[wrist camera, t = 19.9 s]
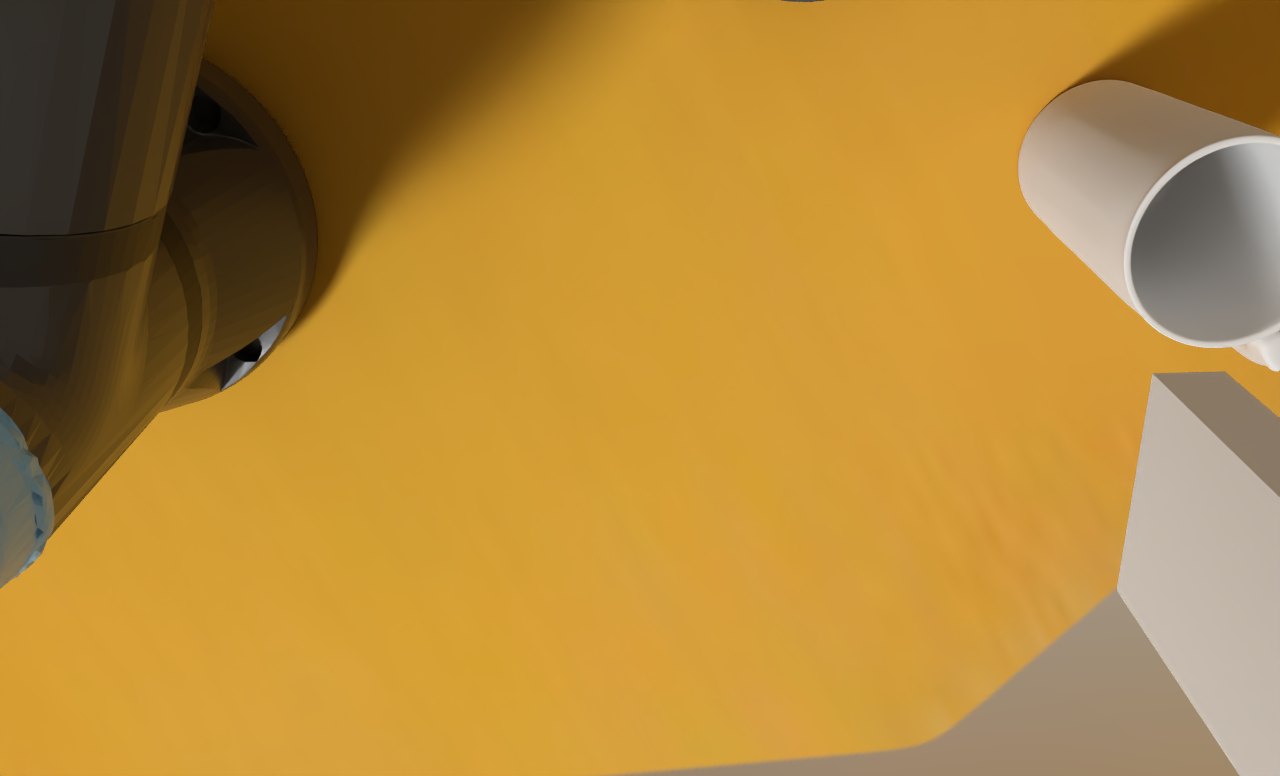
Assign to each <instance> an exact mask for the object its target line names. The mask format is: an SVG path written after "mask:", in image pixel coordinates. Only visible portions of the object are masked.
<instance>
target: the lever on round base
mask: <svg viewBox="0 0 1280 776" xmlns="http://www.w3.org/2000/svg"><path fill="white" fill-rule="evenodd" d="M783 1H794V2H813V1H822V0H783Z"/></svg>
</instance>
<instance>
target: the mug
mask: <svg viewBox="0 0 1280 776" xmlns="http://www.w3.org/2000/svg"><path fill="white" fill-rule="evenodd" d="M1018 176H1019V183H1020V187H1021V190H1022V193H1023V196H1024V198H1025V200H1026V202H1027V204H1028V205H1029V207H1030V208H1031V210H1032V211H1033V212H1034V213H1035V214H1036V215H1037V216H1038V217H1039V218H1040V219H1041V220H1042V221H1043V222H1044V223H1045V224H1046V226H1047V227H1048V228H1049V229H1050V230H1051V231H1052V232H1053V233H1054V234H1055V235H1056V236H1057V237H1058V238H1059V239H1060V240H1061V241H1062V242H1063V243H1064V244H1065V245H1066V246H1067V247H1068V248H1070V249H1071V250H1072V251H1073V252H1074V253H1075V254H1076V255H1077V256H1078V257H1079V258H1080V259H1081V260H1082V261H1083V262H1084V263H1085V264H1086V265H1087V266H1088V267H1089V268H1090V269H1091V270H1092V271H1093V272H1094V273H1095V274H1096V275H1097V276H1098V277H1099V278H1100V279H1101V280H1102V281H1104V282H1105V283H1106V284H1107V285H1108V286H1109V287H1110V288H1111V289H1112V290H1113V291H1114V292H1115V293H1116V294H1117V295H1118V296H1119V297H1120V298H1121V299H1122V300H1123V301H1124V302H1125V303H1126V304H1128V305H1129V306H1130V307H1131V308H1132V309H1134V310H1135V311H1136V312H1137V313H1139V314H1140V315H1141V316H1142V317H1143V318H1144V319H1145V320H1146V321H1147V322H1148V323H1149V324H1150V325H1151V326H1152V327H1153V328H1155V329H1156V330H1157V331H1159V332H1160V333H1162V334H1163V335H1165V336H1167V337H1169V338H1171V339H1173V340H1175V341H1178V342H1181V343H1184V344H1187V345H1192V346H1197V347H1205V348H1224V347H1233V348H1234V349H1235V350H1236V351H1238V352H1239V353H1240V354H1242V355H1243V356H1244V357H1246V358H1248V359H1249V360H1251V361H1253V362H1255V363H1257V364H1260V365H1266V366H1268V367H1269V368H1270V369H1271V370H1273V371H1280V137H1279V136H1277V135H1275V134H1272V133H1270V132H1267V131H1265V130H1262V129H1260V128H1257V127H1254V126H1251V125H1249V124H1246V123H1243V122H1240V121H1237V120H1235V119H1232V118H1229V117H1226V116H1223V115H1221V114H1218V113H1215V112H1212V111H1209V110H1206V109H1204V108H1201V107H1198V106H1195V105H1193V104H1190V103H1187V102H1184V101H1181V100H1179V99H1176V98H1173V97H1171V96H1168V95H1165V94H1163V93H1160V92H1157V91H1154V90H1151V89H1148V88H1145V87H1142V86H1139V85H1136V84H1133V83H1130V82H1126V81H1120V80H1098V81H1093V82H1088V83H1085V84H1082V85H1079V86H1076V87H1074V88H1072V89H1070V90H1068V91H1066V92H1064V93H1063V94H1061V95H1059V96H1058V97H1057V98H1055V99H1054V100H1053V101H1051V102H1050V103H1049V104H1048V105H1047V106H1046V107H1045V108H1044V109H1043V110H1042V111H1041V112H1040V113H1039V114H1038V116H1037V117H1036V118H1035V120H1034V121H1033V123H1032V124H1031V126H1030V128H1029V129H1028V131H1027V133H1026V135H1025V138H1024V140H1023V143H1022V146H1021V150H1020V154H1019V161H1018Z"/></svg>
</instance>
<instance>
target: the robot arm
mask: <svg viewBox="0 0 1280 776" xmlns="http://www.w3.org/2000/svg"><path fill="white" fill-rule="evenodd" d="M214 3H215V0H0V588H2V587H3V586H4V585H5V584H6V583H8V582H9V581H10V580H12V579H14V578H16V577H17V576H19V574H20V573H21V572H22V571H24V570H26V569H27V568H28V567H29V566H30V565H32V564H33V563H34V560H36V559H37V558H38V557H39V556H40V555H41V554H42V552H43V550H44V547H45V544H46V541H47V540H48V539H49V538H50V537H51V535H52V534H53V533H54V532H55V531H56V530H57V528H58V527H59V526H60V525H61V524H62V523H63V522H64V520H65V519H66V518H67V517H68V516H69V515H70V514H71V512H72V511H73V510H74V509H75V508H76V507H77V506H78V504H79V503H80V502H81V501H82V500H83V499H84V498H85V496H86V495H87V494H88V493H89V492H90V491H91V490H92V488H93V487H94V486H95V485H96V484H97V483H98V482H99V480H100V479H101V478H102V477H103V476H104V475H105V474H106V472H107V471H108V470H109V469H110V468H111V467H112V466H113V464H114V463H115V462H116V461H117V460H118V459H119V458H120V456H121V455H122V454H123V453H124V452H125V451H126V450H127V448H128V447H129V446H130V445H131V444H132V443H133V442H134V440H135V439H136V438H137V437H138V436H139V435H140V434H141V432H142V431H143V430H144V429H145V428H146V427H147V425H148V424H149V423H150V422H151V421H152V420H153V419H154V417H155V416H156V415H157V414H158V413H160V412H163V411H166V410H170V409H173V408H177V407H180V406H183V405H187V404H190V403H194V402H197V401H200V400H203V399H206V398H208V397H211V396H213V395H215V394H218V393H220V392H222V391H224V390H225V389H227V388H229V387H231V386H233V385H234V384H236V383H237V382H239V381H240V380H242V379H243V378H245V377H246V376H247V375H249V374H250V373H251V372H252V371H254V370H255V369H256V368H257V367H258V366H259V365H260V364H261V363H262V362H264V361H265V360H266V359H267V357H268V356H269V355H270V354H271V353H272V352H273V351H274V349H275V348H276V347H277V345H278V344H279V343H280V342H281V340H282V339H283V338H284V337H285V335H286V334H287V333H288V331H289V330H290V329H291V327H292V326H293V324H294V323H295V321H296V319H297V318H298V316H299V314H300V312H301V310H302V308H303V306H304V304H305V302H306V300H307V297H308V294H309V292H310V288H311V285H312V282H313V278H314V273H315V268H316V260H317V246H318V238H317V223H316V215H315V209H314V204H313V200H312V196H311V192H310V189H309V186H308V183H307V180H306V177H305V174H304V172H303V170H302V167H301V165H300V163H299V160H298V159H297V157H296V155H295V153H294V151H293V149H292V147H291V145H290V144H289V142H288V140H287V139H286V137H285V135H284V134H283V133H282V131H281V130H280V128H279V127H278V125H277V124H276V123H275V121H274V120H273V119H272V118H271V116H270V115H269V114H268V113H267V111H266V110H265V109H264V108H263V107H262V106H261V105H260V104H259V102H258V101H257V100H256V99H255V98H254V97H253V96H252V95H251V94H250V93H248V92H247V91H246V90H245V89H244V88H243V87H242V86H241V85H240V84H238V83H237V82H236V81H235V80H234V79H232V78H231V77H230V76H228V75H227V74H226V73H224V72H223V71H222V70H220V69H219V68H217V67H215V66H214V65H212V64H211V63H209V62H208V61H206V60H204V59H202V57H203V52H204V48H205V43H206V39H207V34H208V30H209V26H210V21H211V17H212V12H213V8H214ZM1117 592H1118V593H1119V595H1120V596H1121V598H1122V599H1123V601H1124V602H1125V604H1126V605H1127V607H1128V608H1129V610H1130V611H1131V613H1132V614H1133V616H1134V617H1135V619H1136V620H1137V622H1138V623H1139V625H1140V626H1141V628H1142V629H1143V631H1144V632H1145V634H1146V635H1147V637H1148V638H1149V640H1150V641H1151V643H1152V644H1153V646H1154V647H1155V649H1156V650H1157V652H1158V653H1159V655H1160V656H1161V658H1162V659H1163V661H1164V662H1165V664H1166V665H1167V667H1168V668H1169V670H1170V671H1171V673H1172V674H1173V676H1174V678H1175V679H1176V681H1177V682H1178V683H1179V685H1180V686H1181V688H1182V689H1183V691H1184V693H1185V694H1186V696H1187V697H1188V698H1189V700H1190V702H1191V703H1192V705H1193V706H1194V708H1195V709H1196V711H1197V712H1198V713H1199V715H1200V716H1201V718H1202V720H1203V721H1204V722H1205V724H1206V726H1207V727H1208V729H1209V730H1210V732H1211V733H1212V735H1213V736H1214V738H1215V739H1216V741H1217V742H1218V744H1219V745H1220V747H1221V748H1222V749H1223V751H1224V753H1225V754H1226V756H1227V757H1228V759H1229V760H1230V762H1231V763H1232V765H1233V766H1234V768H1235V769H1236V771H1237V772H1238V774H1239V775H1240V776H1280V418H1279V417H1278V416H1276V415H1275V414H1274V413H1273V412H1272V411H1271V410H1269V409H1268V408H1267V407H1266V406H1265V405H1263V404H1262V403H1261V402H1260V401H1259V400H1258V399H1256V398H1255V397H1254V396H1253V395H1252V394H1251V393H1249V392H1248V391H1247V390H1246V389H1245V388H1244V387H1242V386H1241V385H1240V384H1239V383H1238V382H1236V381H1235V380H1234V379H1233V378H1232V377H1231V376H1229V375H1228V374H1227V373H1226V372H1191V373H1155V374H1152V380H1151V386H1150V392H1149V398H1148V404H1147V410H1146V416H1145V422H1144V429H1143V435H1142V441H1141V447H1140V453H1139V459H1138V465H1137V471H1136V477H1135V483H1134V489H1133V495H1132V501H1131V507H1130V513H1129V519H1128V525H1127V531H1126V537H1125V543H1124V549H1123V555H1122V562H1121V568H1120V574H1119V580H1118V586H1117Z"/></svg>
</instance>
